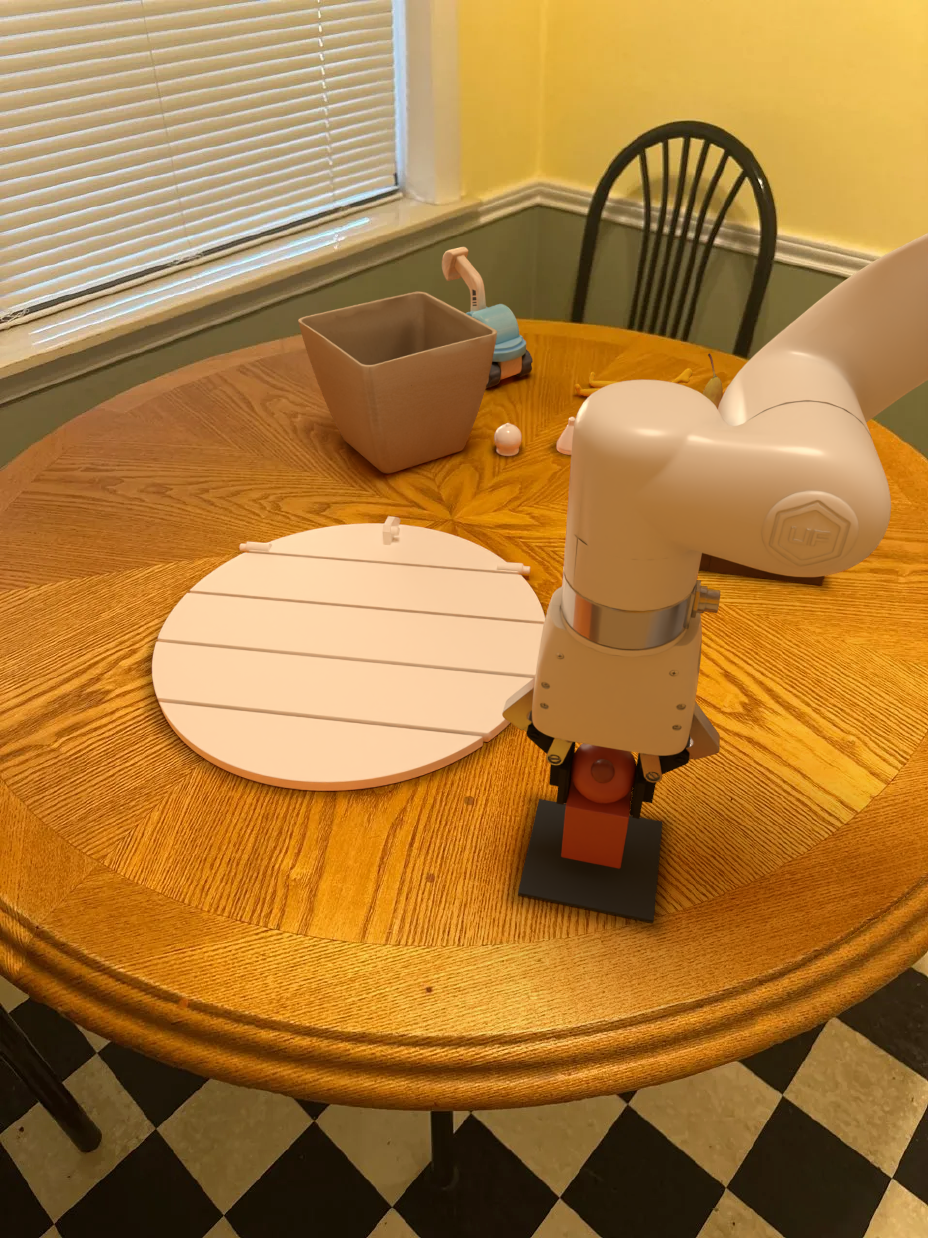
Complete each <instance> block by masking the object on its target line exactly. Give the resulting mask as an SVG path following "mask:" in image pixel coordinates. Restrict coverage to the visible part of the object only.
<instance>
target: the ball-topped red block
mask: <svg viewBox="0 0 928 1238" xmlns="http://www.w3.org/2000/svg"><path fill="white" fill-rule="evenodd" d="M636 769H637V761H636V758H635V756H634V754H633V752H631V751H625V750H619V749H613V748H606V747H601V746H595V745H589V744H584V743H581V744H580V745H579V746H578V747H577V749H575V753H574V755H573V759H572V764H571V777H572V778H571V783H570V788H569V793H568V798H567V803H565V804H566V810H565V820H564V831H563V841H562V852H561V857H563V858H569V859H574V860H579V861H584V862H589V863H594V864H599V865H604V866H609V867H614V868H619V869H620V868H621V862H622V856H623V851H624V845H625V839H626V833H627V827H628V821H629V815H630V807H631V799H632V791H633V786H634V783H635V777H636ZM630 816H631V815H630Z"/></svg>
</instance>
